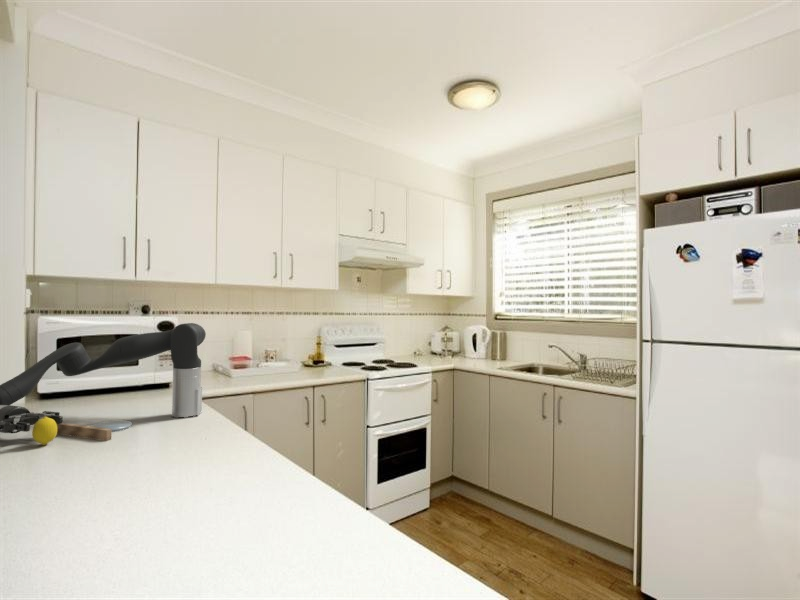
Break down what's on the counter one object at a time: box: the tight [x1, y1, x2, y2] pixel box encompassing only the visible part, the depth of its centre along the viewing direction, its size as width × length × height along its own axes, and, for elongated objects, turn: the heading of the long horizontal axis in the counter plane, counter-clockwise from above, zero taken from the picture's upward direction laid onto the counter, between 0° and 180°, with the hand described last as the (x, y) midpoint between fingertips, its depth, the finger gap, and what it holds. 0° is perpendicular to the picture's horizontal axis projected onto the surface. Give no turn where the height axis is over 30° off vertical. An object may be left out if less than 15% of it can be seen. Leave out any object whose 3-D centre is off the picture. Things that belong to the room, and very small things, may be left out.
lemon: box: [31, 417, 58, 446], centre depth 125 cm, size 6×6×8 cm
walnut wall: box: [57, 422, 113, 442], centre depth 134 cm, size 24×2×3 cm, turn 71°
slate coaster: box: [89, 420, 132, 433], centre depth 143 cm, size 12×12×1 cm
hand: (45, 423), depth 125 cm, fingers open, 8 cm apart
